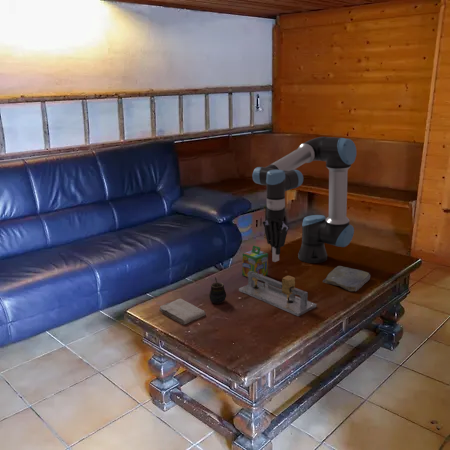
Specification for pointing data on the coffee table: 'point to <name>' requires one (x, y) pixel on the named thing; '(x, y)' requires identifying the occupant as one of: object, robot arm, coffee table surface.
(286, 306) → the trammel beam
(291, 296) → the combination wrench
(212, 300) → the mate gourd
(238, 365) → the coffee table surface
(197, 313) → the washcloth
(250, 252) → the chalk box
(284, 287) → the block
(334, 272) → the grey stone slab
